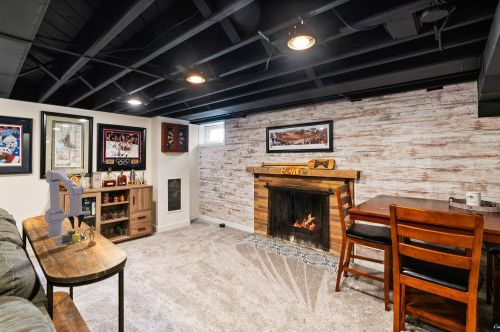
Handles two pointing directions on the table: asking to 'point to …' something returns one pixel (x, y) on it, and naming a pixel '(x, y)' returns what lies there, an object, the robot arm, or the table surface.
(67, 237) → the block
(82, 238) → the panel
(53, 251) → the table surface
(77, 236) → the cap
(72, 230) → the breaker
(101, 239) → the table surface
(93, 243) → the figurine
